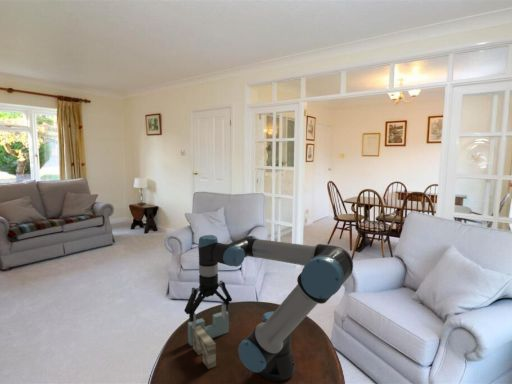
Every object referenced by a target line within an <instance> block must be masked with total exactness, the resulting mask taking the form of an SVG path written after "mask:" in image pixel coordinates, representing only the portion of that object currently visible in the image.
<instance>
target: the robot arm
mask: <svg viewBox="0 0 512 384" xmlns="http://www.w3.org/2000/svg"><path fill="white" fill-rule="evenodd" d="M197 248H198V273H199V274H198V275H199V276H198V282H199V286H198V287H196V288H195V287H192V288H191V294H190V296H189V299H188V301H187V303H186V305H185V308H184V311H183V312H184V313H185V314H186V315H188V319H189V322H192V328H193V329H194V330H196V320H197V319H196V318H197V317H196V316H197V315H196V311H197V309H198V308H199V306H200V305H201V303H202V301H203V300H205V298H209V297H212V296H214V295H216V297H218V298H219V299H220V300H221V301H222V302H221V312H222V318H223V319H224V320H226V311H227V312H228V309H229V305H230V302H232V301H233V298H232V297H231V295H230V293H229V291H228V289H227V287H226V283H225V282H224V281H223V280H219V273H218V272H219V264H222V265H225V266H229V267H240V266H241V265H242V263H243V262H244V260H245V258H247V257H251V258H256V259H257V258H258V259H263V260H270V261H276V262H282V263H287V264H293V265H299V266H303V268H302V269H301V270H302V271H301V272H300V274H298V276H297V279H296V280H297V281H296V282H297V284H296V286H295V287H294V288H293V289H292V290H291V291H290V293H289V294H288V295H287V296H286V297H285V299H284V300H283V301H282V303H280V305H279V306H278V307H277V308H276V310H275V311H268V312H265V313H264V314H263V315H262V319H261V320H262V322H260V323H258V324H257V325H256V326H255V328H254V329H253V330H252V331H251V332H250V333H249V335H247V337H246V338H244V339H243V340H241V342H240V343H239V345H238V351H237V353H238V355H239V359H240V361H241V363H242V364H243V365H244V367H246V369H248V370H249V371H250V372H253V373H257V374H258V373H259V374H260V375H261V377H263V378H265V379H267V380H269V381H272V382H284V381H287V380H289V379H290V378H292V377H293V376H294V374H295V371H296V362H295V359H294V357H293V354H292V332H293V331H294V330H295V329H296V328H297V327H298V326H299V324H300V323H301V322H303V321H304V319H305V318H306V317H307V316H308V315H309V314H310V313H311V311H313V310H314V309H315V308H316V306H317V305H318V304H319V305H320V304H321V305H322V304H323V305H324V304H325V303H327V302H328V301H329V300H330V299H331V297H332V296H334V295H335V294H336V293H338V291H339V290H340V289H341V287H342V286H343V284H344V283H345V282H346V281H347V280H348V278H349V277H350V276H351V275H352V273H353V271H354V270H353V269H354V262H353V258H352V256H351V255H350V253H349V252H348V251H347V250H345V249H344V248H343V247H341V246H338V245H333V244H331V245H330V244H321V243H318V244H316V245H308V244H300V243H291V242H284V241H283V242H282V241H278V240H277V241H275V240H269V239H260V238H259V237H256V235H248V236H245V237H243V238H240V239H238V240H235V241H233V242H230V243H222V242H218V236H216V235H213V234H207V235H206V234H205V235H202V236H200V237H199V238H198V247H197ZM219 287H220V289H221V290H222V292H223V294H224V296H225V297H226V298H225V297H224V296H223V295H222V294H221V293H220V292H219V291H218V289H219Z"/></svg>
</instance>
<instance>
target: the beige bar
mask: <svg viewBox="0 0 512 384" xmlns="http://www.w3.org/2000/svg"><path fill="white" fill-rule="evenodd" d="M192 348H193V350H194V352H195V353H196V355H198V356H200V355H202V362H203V365H205V367H206V368H207V369H208V370H209V369H212V368H214V367H216V366H217V343H216V342H215V341H214V339H213V338H210V336H209V335H208V334H207V333H206V332H205V331H204V330H203V328H202V327H201V326H198V327H196V330H194V329H193V345H192Z"/></svg>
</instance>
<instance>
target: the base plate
mask: <svg viewBox="0 0 512 384" xmlns="http://www.w3.org/2000/svg"><path fill="white" fill-rule="evenodd" d="M229 320H230V315H229V312H228V310H227V311H226V320H224V319H223V318H222V311H220V312H216V313H214V314H212V324H210V325H207V326H206V321H205V319H204V317H203V318H202V317H201V318H197V319H196V327H198V326H201V327H202V328H203V330H204V331H205V332H206V333H207V334H208V335H209V336H210V338H211V339H213V338H214V339H215V338H216V337H220V336H222V335H225V334H228V333H230V329H229V328H230V321H229ZM187 343H188V345H189V346H190V347H193V328H192V322H191V321H188V322H187Z"/></svg>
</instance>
